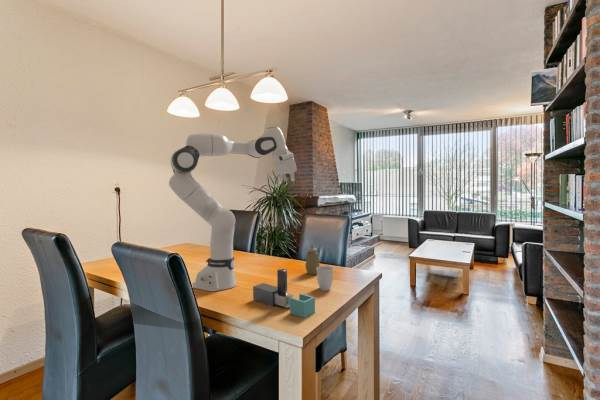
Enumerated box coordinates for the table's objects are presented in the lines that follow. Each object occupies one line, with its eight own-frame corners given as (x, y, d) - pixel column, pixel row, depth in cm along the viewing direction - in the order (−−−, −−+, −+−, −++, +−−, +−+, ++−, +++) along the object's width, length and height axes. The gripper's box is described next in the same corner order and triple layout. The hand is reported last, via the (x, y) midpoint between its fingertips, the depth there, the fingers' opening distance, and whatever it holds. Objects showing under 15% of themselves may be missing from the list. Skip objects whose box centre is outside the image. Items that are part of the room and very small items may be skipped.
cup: (336, 287, 147) (336, 267, 147) (329, 292, 140) (329, 271, 140) (321, 284, 152) (321, 265, 151) (313, 289, 145) (313, 269, 144)
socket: (289, 313, 118) (289, 298, 118) (300, 307, 123) (300, 293, 123) (304, 318, 114) (304, 302, 113) (314, 312, 119) (314, 297, 118)
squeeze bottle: (308, 276, 166) (307, 243, 165) (303, 272, 174) (303, 241, 173) (321, 274, 168) (321, 242, 167) (316, 271, 176) (316, 240, 175)
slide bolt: (257, 298, 132) (256, 266, 131) (264, 295, 135) (263, 264, 134) (286, 307, 121) (286, 273, 120) (293, 304, 124) (292, 270, 124)
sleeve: (253, 299, 132) (253, 286, 132) (263, 296, 137) (263, 282, 137) (272, 306, 125) (272, 292, 125) (282, 302, 129) (281, 288, 129)
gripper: (269, 159, 170) (277, 183, 173) (283, 156, 152) (292, 182, 155) (279, 156, 173) (287, 179, 175) (294, 153, 154) (302, 178, 157)
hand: (289, 181), depth 165 cm, fingers open, 8 cm apart
